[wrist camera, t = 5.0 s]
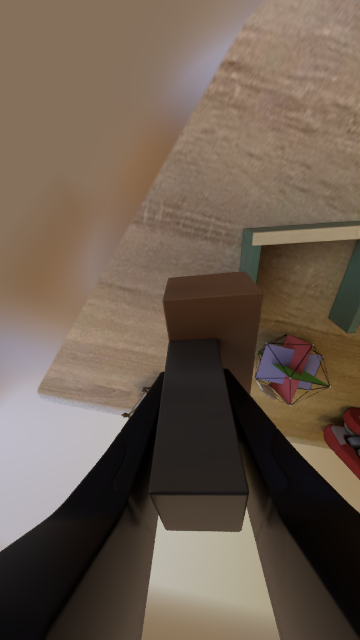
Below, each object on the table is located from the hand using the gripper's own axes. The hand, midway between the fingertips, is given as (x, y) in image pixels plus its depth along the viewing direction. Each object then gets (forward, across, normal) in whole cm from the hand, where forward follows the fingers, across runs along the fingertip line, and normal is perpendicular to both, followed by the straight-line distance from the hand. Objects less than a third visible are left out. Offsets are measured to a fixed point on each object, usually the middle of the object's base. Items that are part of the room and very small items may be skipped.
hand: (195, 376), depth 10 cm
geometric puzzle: (+13, -10, +9) cm, 19 cm away
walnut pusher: (+4, 0, 0) cm, 4 cm away
